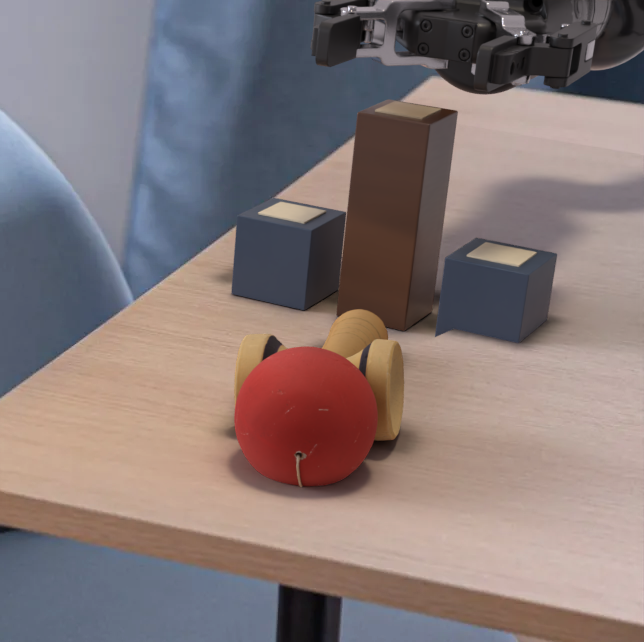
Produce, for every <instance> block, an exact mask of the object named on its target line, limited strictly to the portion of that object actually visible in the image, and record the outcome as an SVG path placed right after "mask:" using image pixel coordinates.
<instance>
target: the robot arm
mask: <svg viewBox="0 0 644 642" xmlns="http://www.w3.org/2000/svg"><path fill="white" fill-rule="evenodd" d="M313 13H314V16H313V25H312V26H313V27H312V38H311V39H310V50H311V56H312V57H315V58H314V59H315V64H316V65H317V66H320V67H328V68H332V67H335V66H337V65H340V64H344V63H346V62H349V61H352V60H354V59H362V58H363V59H364V58H370V59H371V60H372V61H373V62H375V63H379V64H380V65H383V66H386V67H401V66H402V67H403V66H421V67H425V68H426V69H429V70H434V71H435V72H436V73H437V74H438V75H439V76H440V77H441V78H442V79H443V81H445V82H447V83H448V84H449V85H451V86H452V87H454V88H456V89H458V90H460V91H463V92H466V93H469V94H474V95H487V96H488V95H495V94H500V93H504V92H507V91H509V90H511V89H514V88H516V87H521V86H522V85H528V84H530V81H531V80H534V79H535V78H537V77H543V83H542V84H543V85H544V86H547V87H549V88H550V89H554V90H560V89H561V88H567V87H569V86H570V85H572V84H573V83H574V82H576V81H578V80H580V79H581V78H582V77H584V76H586V75H587V74H589V73H590V72H591V71H604V70H608V69H609V70H610V69H612V68H615V67H618V66H620V65H622V64H625V63H627V62H629V61H630V60H631V59H632V60H633V58H635V57H636V56H638V55H640V54H641V53H642V52H643V51H644V0H319V1H315V2H314V6H313ZM396 43H398V44H399V45H400V46H402V47H403V48H404V49H406V50H403V51H400V50H399V51H397V50H396Z"/></svg>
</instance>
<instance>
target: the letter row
mask: <svg viewBox="0 0 644 642" xmlns="http://www.w3.org/2000/svg"><path fill="white" fill-rule="evenodd" d="M346 217H347V211H345V210H338V209H333V208H329V207H323V206H320V205H319V206H317V205H313V204H308V203H303V202H298V201H293V200H288V199H284V198H283V199H282V198H277V197H272V198H270V199H268V200H265V201H264V202H262V203H260V204H257V205H256V206H254V207H251V208H249V209H247V210H245V211H243V212H241V213H239V214H237V215H236V226H235V240H234V252H233V264H232V265H233V266H232V279H231V293H230V294H231V295H234V296H239V297H243V298H247V299H248V298H249V299H252V300H256V301H261V302H265V303H269V304H273V305H279V306H283V307H287V308H292V309H296V310H299V311H306V310H307V309H309V308H311V307H312V306H314V305H315V304H318V303H319V302H321V301H322V300H323V299H325V298H327V297H329V296H330V295H332V294H334V293H335V292H337V291H339V285H340V275H341V265H342V256H343V246H344V236H345V227H346ZM557 258H558V253H557V252H552V251H547V250H542V249H537V248H532V247H526V246H521V245H516V244H512V243H506V242H501V241H496V240H491V239H486V238H480V237H474V238H473V239H471V240H470V241H469V242H467V243H465V244H464V245H462V246H461V247H459V248H457V249H456V250H455V251H453V252H452V253H450V254H448V255H447V256H445V258H444V263H443V272H442V277H441V278H442V280H441V285H440V293H439V294H440V295H439V301H438V309H437V317H436V326H435V333H434V338H437V337H439V336H441V335H444V334H446V333H448V332H450V331H453V330H457V331H463V332H466V333H472V334H475V335H481V336H484V337H489V338H494V339H497V340H502V341H507V342H512V343H516V344H520V343H521V342H522V341H523V340H525V339H526V338H527V337H528V336H529V335H531V334H532V333H533V332H534V331H535V330H537V329H538V328H539V327H541V326H542V325H543V324H544V323H545V322H547V321H548V315H549V309H550V305H551V296H552V291H553V285H554V279H555V278H554V277H555V272H556V266H557Z"/></svg>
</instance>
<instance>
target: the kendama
mask: <svg viewBox="0 0 644 642" xmlns="http://www.w3.org/2000/svg"><path fill="white" fill-rule="evenodd" d="M404 366H405V365H404V357H403V351H402V346H401V344H400V343H399V341H397V340H394V339H389V333H388V329H387V327H385V325H384V323H383V322H382V320H381V319H380V318H379V317H378V316H377V315H375V314H374V313H372V312H370V311H367V310H362V309H356V310H351V311H348V312H346V313H344V314H342V315H341V316H337V317H336V319H335V320H334V322H333V323H332V325H331V327H330V329H329V332H328V335H327V337H326V340H325V342H324V343H323V345H322V347H318V346H310V345H309V346H306V345H305V346H304V345H303V346H294V347H289V348H288V347H286V346H285V345H284V344H283V343H282V342H281V341H280V340H279V339H278V338H277V336H275V335H274V334H272V333H249V334H246V335H245V336H244V337H243V339H242V340H241V342H240V345H239V347H238V351H237V355H236V361H235V368H234V369H235V370H234V383H233V384H234V386H233V393H234V394H233V399H234V414H233V415H234V416H233V417H234V418H233V421H234V431H235V435H236V440H237V442H238V445H239V447H240V450H241V451H242V453H243V455H244V457H245V459H246V460H247V461H248V463H249V464H250V465H251V466H252V468H254V469H255V470H256V472H258V473H259V474H260V475H262V476H263V477H266V478H267V479H270V480H272V481H275V482H277V483H281V484H287V485H292V486H298V487H300V488H303V487H320V486H321V487H322V486H327V485H333V484H335V483H338V482H341V481H342V480H344V479H346V478H347V477H349V476H350V475H352V473H354V471H356V470H357V469H358V468H359V467H360V466H361V464H362V463H363V462H364V461H365V459H366V458H367V456H368V455H369V452H370V451H371V448H372V447H373V444H374V442H375V441H377V442H378V441H393V440H395V439H396V437H397V436H398V435H399V433H400V429H401V425H402V419H403V414H404V413H403V412H404V404H405V403H404V402H405V401H404V400H405V399H404V398H405V367H404Z"/></svg>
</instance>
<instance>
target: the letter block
mask: <svg viewBox="0 0 644 642" xmlns="http://www.w3.org/2000/svg"><path fill="white" fill-rule="evenodd" d="M458 115H459V111H458V110H457V109H450V108H443V107H439V106H433V105H432V106H431V105H426V104H421V103H420V104H419V103H415V102H414V103H413V102H407V101H401V100H396V99H386V100H383V101H381V102H378V103H376V104H374V105H371V106H369V107H367V108H365V109H362V110H360V111H358V112H357V114H356V122H355V133H354V142H353V149H352V160H351V169H350V180H349V190H348V197H347V207H346V209H347V210H346V221H345V230H344V240H343V250H342V260H341V269H340V279H339V289H338V293H337V294H338V295H337V303H336V304H337V305H336V316H337V317H339V316H341V315H342V314H344V313H346V312H348V311H351V310H356V309H362V310H367V311H370V312H372V313H374V314H375V315H377V316H378V317H379V318H380V319H381V320H382V322H383V323H384V325H385V328H390V329H394V330H398V331H402V332H405V331H407V330H408V329H409V328H410V327H412V326H414V325H415V324H416V323H418V322H419V321H421V320H422V319H423V318H425V317H426V316H428V315H429V314H431V313H432V312H433V308H434V301H435V292H436V285H437V277H438V270H439V261H440V255H441V245H442V240H443V239H442V238H443V232H444V231H443V230H444V224H445V216H446V209H447V200H448V193H449V184H450V177H451V170H452V169H451V168H452V162H453V154H454V146H455V137H456V130H457V123H458Z"/></svg>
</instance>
